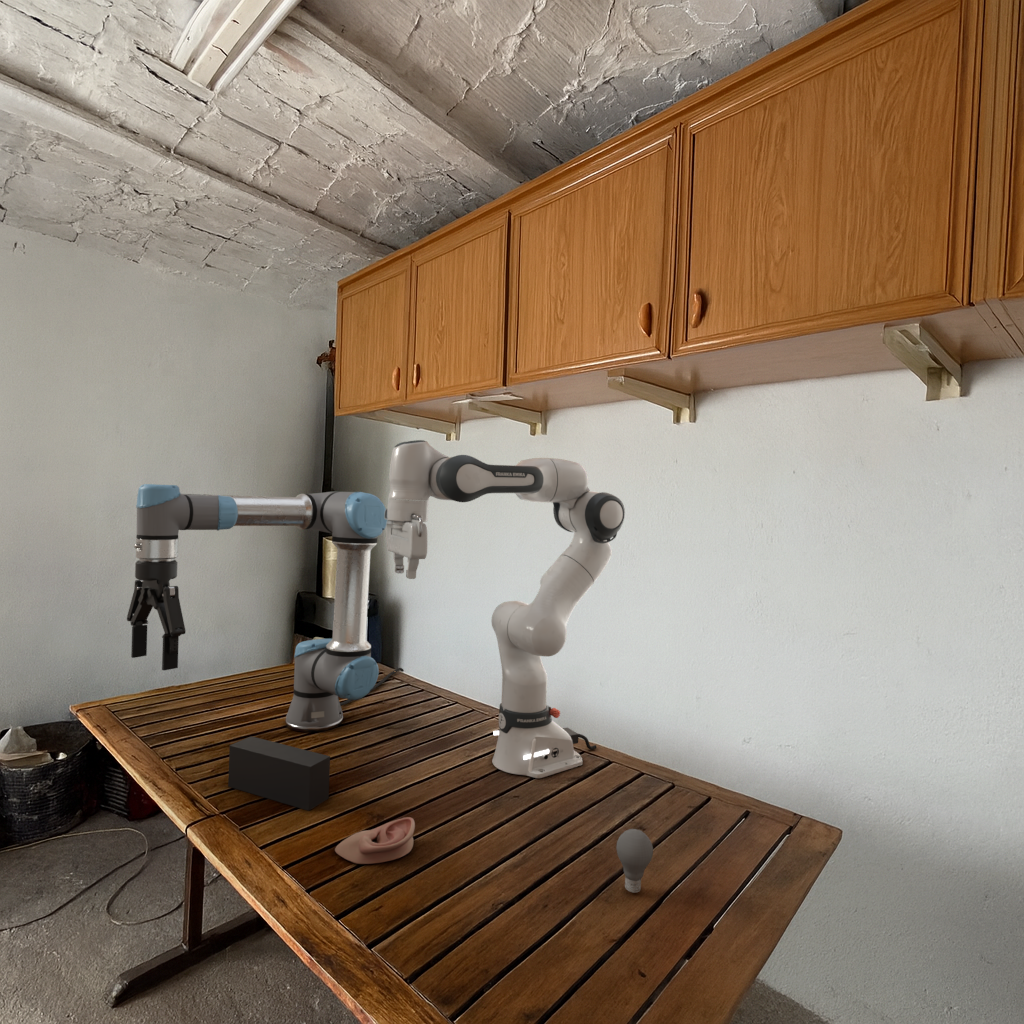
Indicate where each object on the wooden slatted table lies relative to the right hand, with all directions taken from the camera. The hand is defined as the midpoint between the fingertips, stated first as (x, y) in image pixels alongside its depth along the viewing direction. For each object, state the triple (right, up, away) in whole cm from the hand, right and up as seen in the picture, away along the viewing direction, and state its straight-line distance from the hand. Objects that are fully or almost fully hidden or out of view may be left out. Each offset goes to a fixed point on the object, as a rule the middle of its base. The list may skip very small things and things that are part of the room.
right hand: (404, 575), depth 140 cm
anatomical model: (-1, -47, -25) cm, 53 cm away
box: (-26, -46, -5) cm, 53 cm away
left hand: (-50, -17, -10) cm, 54 cm away
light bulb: (+44, -49, -34) cm, 74 cm away
